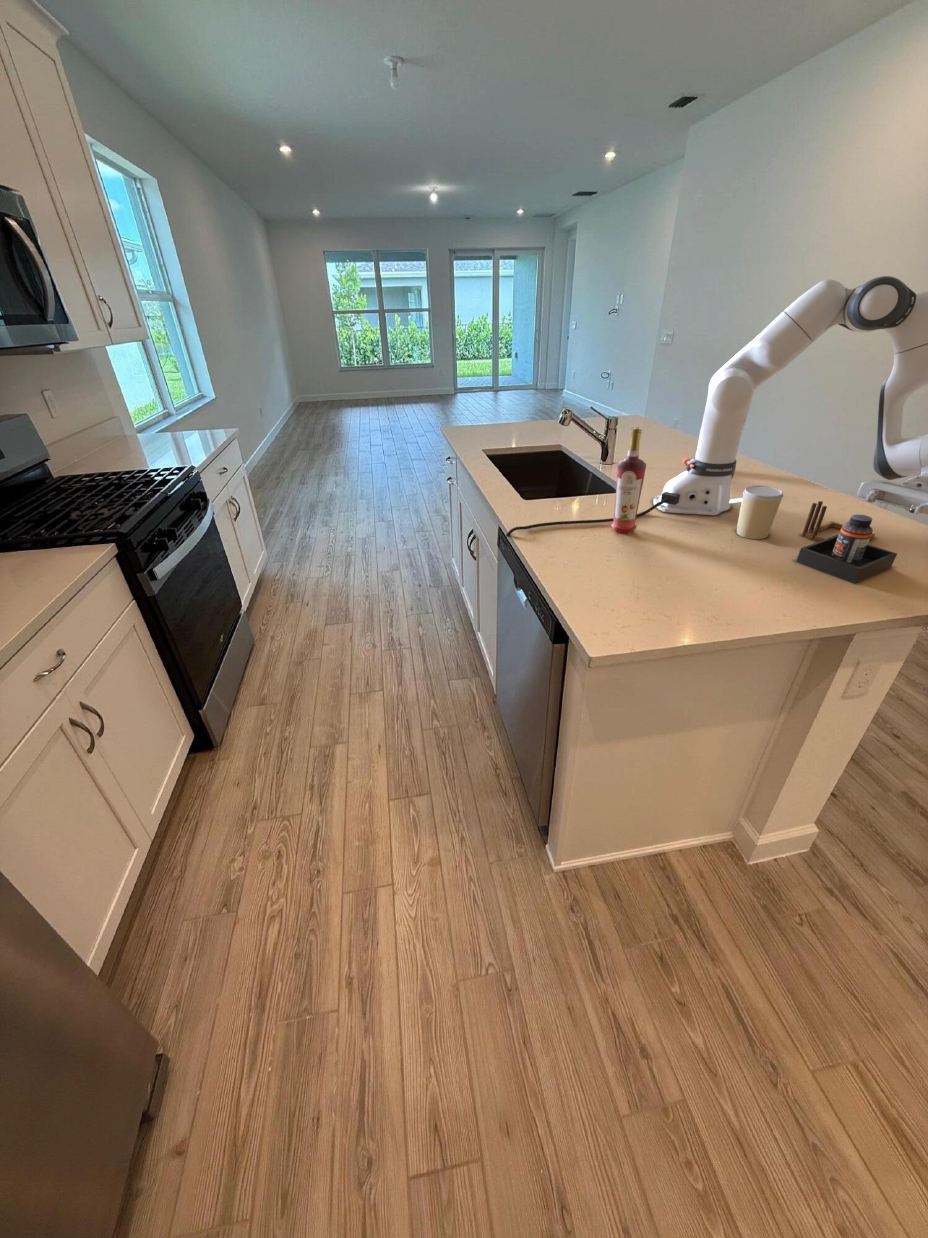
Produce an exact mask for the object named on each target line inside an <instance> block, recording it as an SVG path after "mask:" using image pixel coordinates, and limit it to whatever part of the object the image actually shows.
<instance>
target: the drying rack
mask: <svg viewBox="0 0 928 1238" xmlns="http://www.w3.org/2000/svg"><path fill="white" fill-rule="evenodd" d="M823 503H824V501H822V500H819V501H818V502H817V503H816V502H812V503H811V507H810V508H809V512H808V514H807V518H806V522H805V525H804V528H803V531H802V534H801V537H805V538H807V539H811V540H813V541H816V542H819V541H821V540H824V539H827V538H828V537H824V536H822V535H819V532H821V531H824V530H827V529H829V528H835V529H838V530H841V528H842V526H843V525H844V524H843V523H840V522H836V521H828V522H826V523H823V520H824V517H825V514H826V511H827V508H828V506H827V505H823ZM822 523H823V524H822ZM874 538H875V533H873V532H872V535H871V538H870V540H872V539H874Z"/></svg>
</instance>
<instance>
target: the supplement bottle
mask: <svg viewBox="0 0 928 1238" xmlns="http://www.w3.org/2000/svg"><path fill="white" fill-rule="evenodd" d="M872 522H873V518H872V517H871V516H869V515H865V514H860V513H859V514H858V513H857V514H852V515H851V516H850V518H849V521H848V522H846V523H844V524H843V526H842V528H841V529H839V530H840V531H839V533H838V535H839V536H838V538H837V541H836V544H835V546H834V549H833V551H832V554H831V557H832V558H835V559H837V560H840V561H843V562H846V563H849V564H852V565H855V566H857V565H859V563H860V561H861V559H862V557H863V554H864V552H865V549H866V547H867V545H869V542H870V540H871V539H870V538H871V535H872V533H873V532H874V530H873V528H872V527H871V525H872Z"/></svg>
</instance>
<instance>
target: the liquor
mask: <svg viewBox="0 0 928 1238" xmlns="http://www.w3.org/2000/svg"><path fill="white" fill-rule="evenodd" d="M642 430H643V427H639V426H632V427H631V428H630V442H629V447H628V451H627V455H626V457H625V458H624V459H621V460H620V461H619V462H618V463H617V466H616V467H617V470H616V481H615V498H614V499H615V501H614V512H613V518H614V521H612V524H611V528H612V529H613V530H614V531H615V532H616V533H618V534H623V535H625V534H630V533H632V532H633V531H635V530H636V529H637V525H636V521H637V517H636V516H637V514H638V512H639V511H638V510H639V505H640V499H641V494H642V489H643V485H644V480H645V474H646V469H647V463H646V462H645V461H644V460H643V459H641V458H640V440H641V437H642Z"/></svg>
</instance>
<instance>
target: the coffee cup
mask: <svg viewBox="0 0 928 1238" xmlns="http://www.w3.org/2000/svg"><path fill="white" fill-rule="evenodd" d="M741 498H742V501H741V502H740V503H741V504H740V508H739V513H738V519H737V526H736V534H737V535H738V536H740V537H743V538H745V539H750V540H751V539H752V540H762V539H765V538H767V537H769V534H770V532H771V529H772V526H773V523H774V521H775V518H776V515H777V513H778V510H779V508H780V504H781V502H782V499H783V498H784V493H783V490H781V489H779V488H777V487H773V486H768V485H750V486H747V487H745V488H744V490H743V491H742V497H741Z"/></svg>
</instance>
